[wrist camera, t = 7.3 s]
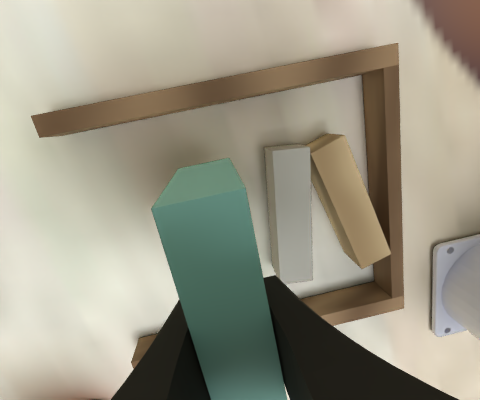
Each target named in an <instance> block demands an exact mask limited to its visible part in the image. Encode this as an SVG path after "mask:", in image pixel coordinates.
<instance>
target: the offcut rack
mask: <svg viewBox="0 0 480 400" xmlns="http://www.w3.org/2000/svg"><path fill="white" fill-rule="evenodd" d="M358 75H362V79H363V96H364V113H365V130H366V148H367V165H368V182H369V198H370V201H371V203H372V206H373V208H374V211H375V214H376V216H377V219H378V221H379V224H380V226H381V229H382V231H383V234H384V237H385V239H386V242H387V244H388V247H389V249H390V252H391V254H390V255H388V256H386V257H384V258H382V259H381V260H379V261H377V262H375V263H373V268H374V282H370V283H365V284H361V285H357V286H353V287H349V288H345V289H341V290H336V291H332V292H328V293H324V294H320V295H316V296H312V297H307V298H303V299H300V300H302V301H303V302H304V303H305V304H306V305H307V306H308V307H310V308H311V309H312V310H313V311H314V312H315V313H317V314H318V315H319V316H320V317H322V318H323V319H324V320H325V321H327V322H328V323H329V324H331V325H332V326H334V325H338V324H342V323H346V322H350V321H354V320H358V319H362V318H366V317H371V316H375V315H379V314H383V313H387V312H391V311H395V310H399V309H403V308H404V285H403V239H402V192H401V146H400V99H399V53H398V43H395V44H390V45H385V46H380V47H375V48H370V49H365V50H360V51H355V52H350V53H345V54H340V55H334V56H329V57H324V58H319V59H314V60H309V61H304V62H299V63H294V64H289V65H284V66H279V67H274V68H269V69H264V70H259V71H254V72H249V73H244V74H239V75H234V76H229V77H224V78H219V79H214V80H209V81H204V82H199V83H194V84H189V85H184V86H179V87H174V88H169V89H164V90H159V91H154V92H149V93H144V94H139V95H134V96H129V97H124V98H118V99H113V100H108V101H103V102H98V103H93V104H88V105H83V106H78V107H73V108H68V109H63V110H58V111H53V112H48V113H43V114H38V115H33V116H31V118H32V120H33V123H34V125H35V128H36V130H37V133H38V135H39V138H41V137H53V136H63V135H68V134H73V133H78V132H83V131H88V130H93V129H98V128H103V127H108V126H113V125H117V124H122V123H127V122H132V121H137V120H142V119H147V118H152V117H157V116H162V115H167V114H172V113H176V112H181V111H186V110H191V109H196V108H201V107H206V106H211V105H216V104H221V103H226V102H231V101H235V100H240V99H245V98H250V97H255V96H260V95H265V94H270V93H275V92H280V91H285V90H289V89H294V88H299V87H304V86H309V85H314V84H319V83H324V82H329V81H334V80H339V79H344V78H348V77H353V76H358ZM157 335H158V334H154V335H150V336H146V337H142V338H139V340H138V343H137V346H136V349H135V352H134V355H133V358H132V361H131V363H132V366H133V368H135V367H136V366H137V364H138V363H139V361H140V360H141V359H142V357H143V356H144V354H145V353H146V351H147V350H148V348H149V347H150V345H151V344H152V342H153V341H154V339H155V338H156V336H157Z"/></svg>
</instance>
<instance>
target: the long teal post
mask: <svg viewBox="0 0 480 400" xmlns="http://www.w3.org/2000/svg"><path fill="white" fill-rule="evenodd" d="M151 210H152V213H153V216H154V219H155V222H156V226H157V229H158V232H159V235H160V238H161V241H162V245H163V248H164V251H165V254H166V257H167V261H168V264H169V267H170V270H171V273H172V277H173V280H174V283H175V286H176V289H177V293H178V296H179V299H180V302H181V305H182V309H183V312H184V315H185V318H186V321H187V324H188V328H189V331H190V334H191V337H192V340H193V344H194V347H195V350H196V353H197V356H198V360H199V363H200V366H201V369H202V372H203V376H204V379H205V382H206V385H207V388H208V392H209V395H210V398H211V400H287V396H286V391H285V386H284V381H283V376H282V371H281V366H280V361H279V356H278V351H277V346H276V340H275V335H274V330H273V325H272V320H271V315H270V310H269V305H268V300H267V295H266V290H265V285H264V279H263V274H262V269H261V264H260V259H259V254H258V249H257V244H256V239H255V234H254V229H253V223H252V218H251V213H250V208H249V203H248V198H247V193H246V188H245V186H244V184H243V182H242V181H241V179H240V177H239V175H238V173H237V171H236V169H235V168H234V166H233V164H232V162H231V160H230V158H226V159H221V160H216V161H212V162H207V163H202V164H198V165H193V166H188V167H184V168H179V169H178V170H177V172H176V173H175V174H174V176H173V177H172V179H171V180H170V182H169V183H168V185H167V186H166V188H165V189H164V191H163V192H162V194H161V195H160V197H159V198H158V200H157V201H156V202H155V204H154V205H153V207H152V208H151Z"/></svg>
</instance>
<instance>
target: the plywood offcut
mask: <svg viewBox="0 0 480 400" xmlns="http://www.w3.org/2000/svg"><path fill="white" fill-rule="evenodd" d="M305 146H308V147H310V168H311V180H312V182H313V185H314V187H315V189H316V191H317V193H318V196H319V198H320V200H321V202H322V204H323V207H324V209H325V211H326V213H327V215H328V218H329V220H330V222H331V224H332V226H333V229H334V231H335V233H336V235H337V237H338V240H339V242H340V244H341V246H342V248H343V250H344V252H345V253H346V254H347V255H348V256H349V257H350V258H351V259H352V260H353V261H354V262H355V263H356V264H357V265H358V266H359V267H360V268H361V269H363V268H365V267H367V266H369V265H371V264H373V263H375V262H377V261H379V260H381V259H382V258H384V257H386V256H388V255H390V254H391V252H390V249H389V247H388V244H387V242H386V239H385V237H384V234H383V231H382V229H381V226H380V224H379V221H378V219H377V216H376V214H375V211H374V208H373V206H372V203H371V201H370V198H369V196H368V193H367V191H366V188H365V186H364V183H363V180H362V178H361V175H360V173H359V170H358V168H357V165H356V163H355V160H354V158H353V155H352V152H351V150H350V147H349V145H348V142H347V140H346V137H345V135H337V134H325V135H323V136H322V137H320V138H318V139H316V140H314V141H313V142H311V143H309V144H307V145H305Z"/></svg>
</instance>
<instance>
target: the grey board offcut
mask: <svg viewBox="0 0 480 400" xmlns="http://www.w3.org/2000/svg"><path fill="white" fill-rule="evenodd" d="M264 151H265V166H266V180H267V195H268V210H269V224H270V239H271V253H272V266H273V268H274V271H275V273H276V275H277V277H278V278H279V279H280V280H281V281H282V282H283V283H284V284H290V283H297V282H304V281H311V280H313V265H312V216H311V168H310V147H308V146H304V145H300V144H291V145H281V146H272V147H264Z"/></svg>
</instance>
